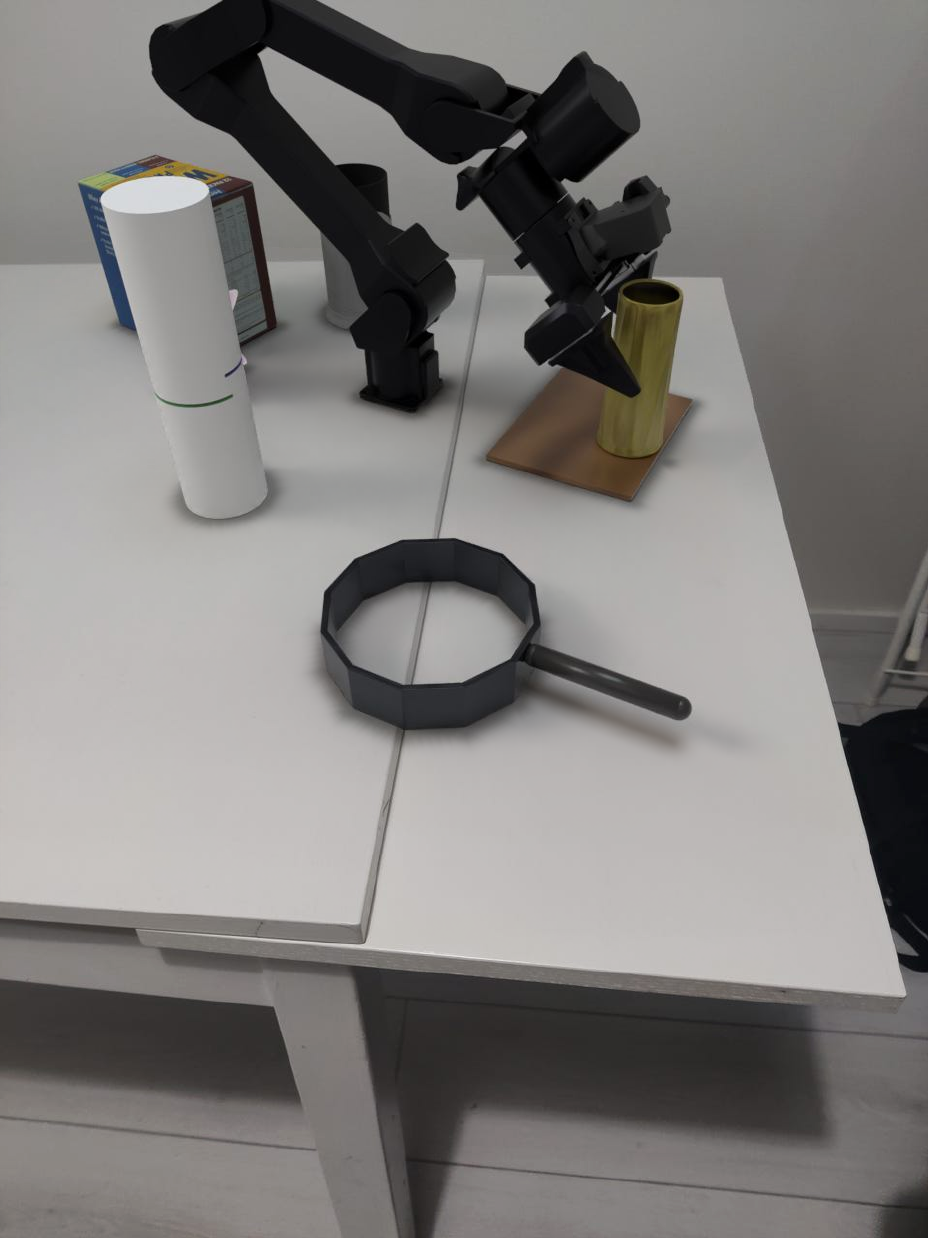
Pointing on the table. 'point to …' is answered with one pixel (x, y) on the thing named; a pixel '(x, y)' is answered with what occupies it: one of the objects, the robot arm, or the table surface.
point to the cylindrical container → (188, 339)
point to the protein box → (233, 228)
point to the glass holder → (338, 272)
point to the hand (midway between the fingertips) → (652, 369)
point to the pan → (486, 689)
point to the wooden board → (577, 438)
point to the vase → (642, 367)
